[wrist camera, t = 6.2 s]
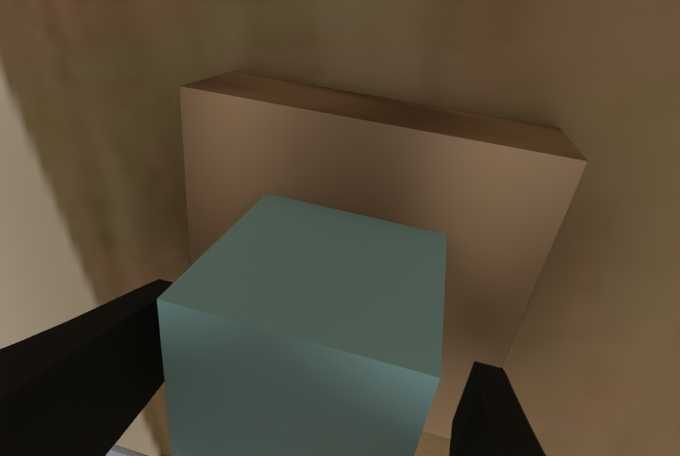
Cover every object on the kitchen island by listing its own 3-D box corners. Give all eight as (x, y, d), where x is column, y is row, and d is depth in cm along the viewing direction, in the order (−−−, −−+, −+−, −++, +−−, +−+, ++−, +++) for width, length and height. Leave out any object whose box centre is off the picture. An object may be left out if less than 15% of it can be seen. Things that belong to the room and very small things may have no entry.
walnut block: (237, 307, 19) (195, 364, 16) (239, 69, 14) (179, 86, 11) (466, 368, 17) (469, 444, 14) (556, 124, 13) (587, 161, 10)
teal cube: (259, 329, 14) (172, 469, 10) (266, 193, 12) (156, 299, 8) (407, 371, 14) (383, 541, 9) (447, 234, 11) (441, 378, 7)
